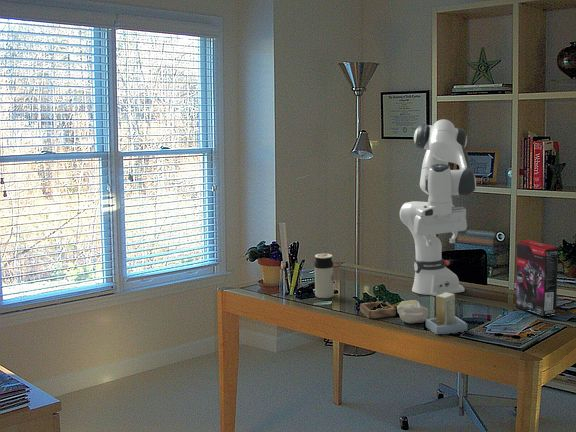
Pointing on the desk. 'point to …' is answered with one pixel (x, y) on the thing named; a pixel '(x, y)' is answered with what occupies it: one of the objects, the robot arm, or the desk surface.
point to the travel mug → (324, 276)
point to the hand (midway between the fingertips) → (440, 244)
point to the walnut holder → (367, 311)
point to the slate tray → (446, 326)
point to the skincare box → (445, 309)
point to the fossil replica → (412, 311)
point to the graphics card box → (536, 277)
